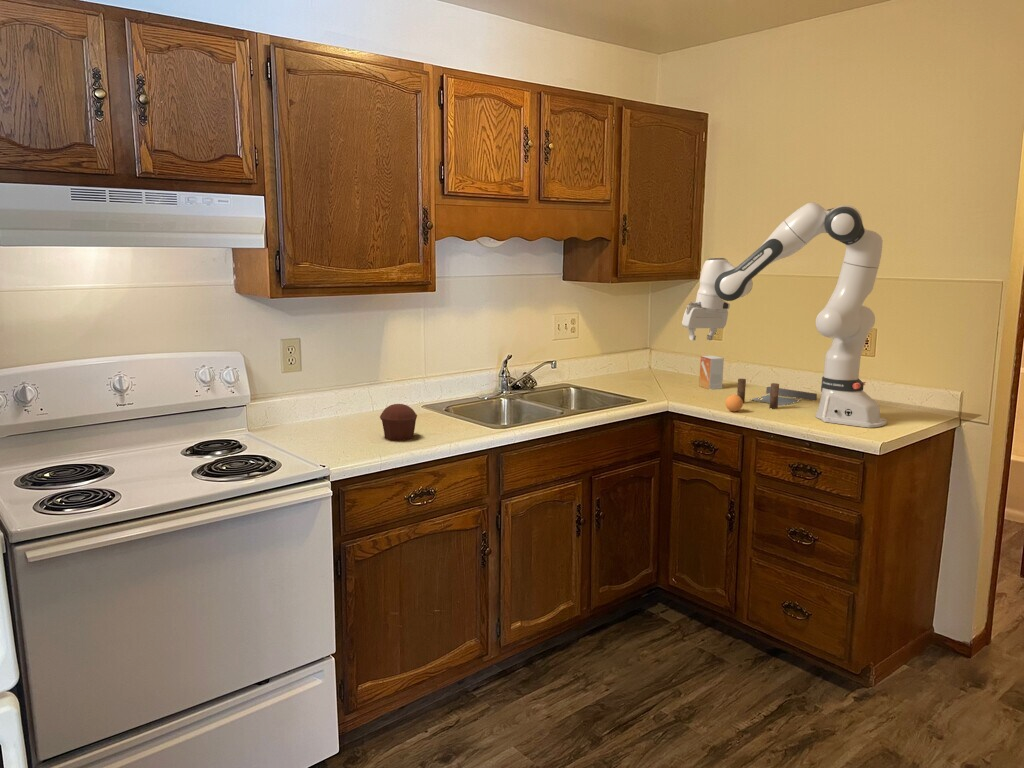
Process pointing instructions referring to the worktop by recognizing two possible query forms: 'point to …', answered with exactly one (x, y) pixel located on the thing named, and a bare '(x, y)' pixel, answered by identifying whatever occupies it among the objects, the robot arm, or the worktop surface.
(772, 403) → the post
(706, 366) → the small box
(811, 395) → the wall
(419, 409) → the worktop surface
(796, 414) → the worktop surface
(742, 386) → the post
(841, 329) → the robot arm
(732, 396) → the ball
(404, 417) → the muffin
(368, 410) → the worktop surface
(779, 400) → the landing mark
